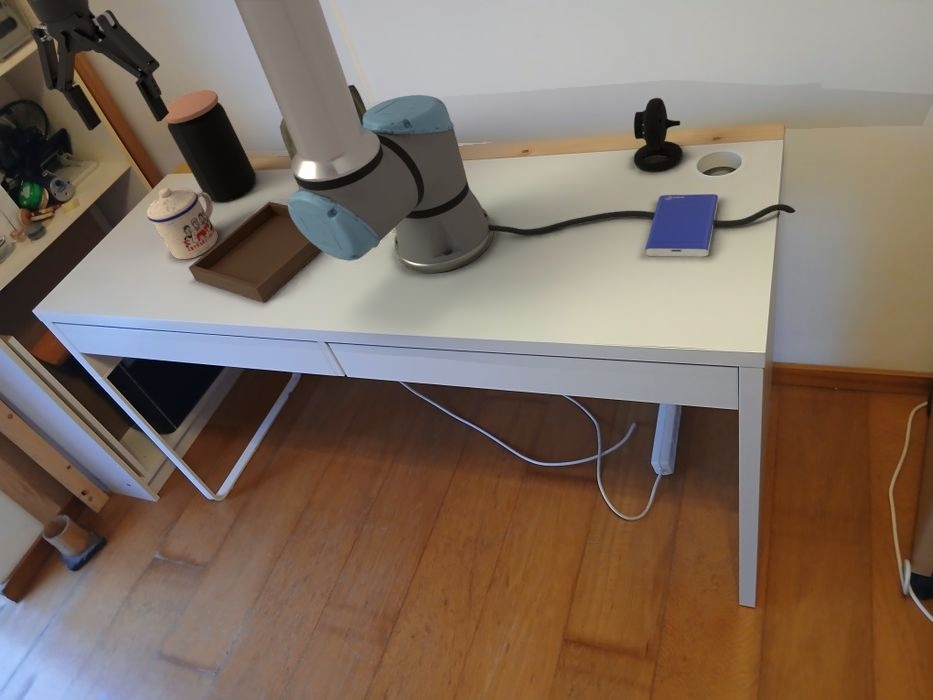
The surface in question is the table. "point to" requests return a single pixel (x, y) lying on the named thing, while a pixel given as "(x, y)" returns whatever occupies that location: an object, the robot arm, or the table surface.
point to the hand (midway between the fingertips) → (128, 122)
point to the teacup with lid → (183, 222)
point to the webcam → (655, 137)
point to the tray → (257, 255)
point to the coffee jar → (210, 145)
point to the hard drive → (682, 225)
